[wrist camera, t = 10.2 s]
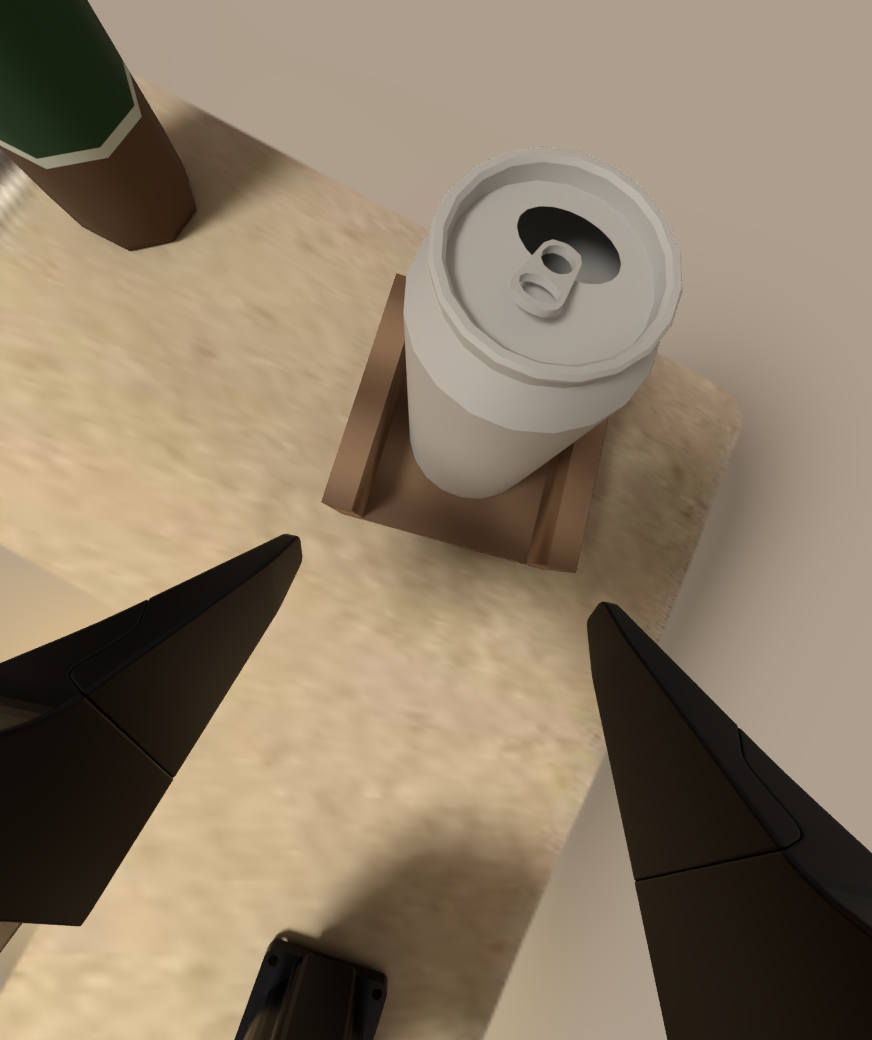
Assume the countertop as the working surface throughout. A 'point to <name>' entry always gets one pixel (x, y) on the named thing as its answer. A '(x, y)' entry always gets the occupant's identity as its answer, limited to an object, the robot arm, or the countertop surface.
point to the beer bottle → (86, 125)
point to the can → (531, 314)
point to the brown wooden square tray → (439, 514)
